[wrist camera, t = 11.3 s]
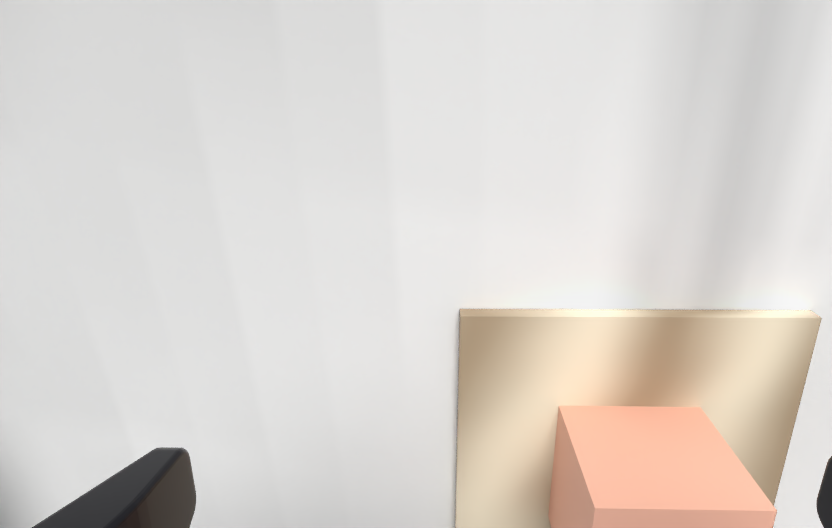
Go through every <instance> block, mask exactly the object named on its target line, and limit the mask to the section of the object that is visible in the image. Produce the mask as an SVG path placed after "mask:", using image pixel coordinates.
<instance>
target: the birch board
mask: <svg viewBox="0 0 832 528" xmlns="http://www.w3.org/2000/svg"><path fill="white" fill-rule="evenodd" d="M821 319H822V318H821V317H820V316H818V315H817V314H815V313H814V312H812V311H811V310H593V309H460V323H459V370H458V416H457V462H456V509H455V528H551V525H550V521H549V517H548V513H549V503H550V492H551V482H552V471H553V461H554V450H555V440H556V429H557V419H558V408H559V406H648V407H701V409H702V410H703V411H704V413H705V414H706V415H707V417H708V418H709V419H710V421H711V422H712V423H713V425H714V426H715V428H716V429H717V430H718V432H719V433H720V434H721V436H722V437H723V438H724V440H725V441H726V442H727V444H728V445H729V446H730V448H731V449H732V451H733V452H734V453H735V455H736V456H737V457H738V459H739V460H740V461H741V463H742V464H743V465H744V467H745V468H746V470H747V471H748V472H749V474H750V475H751V476H752V478H753V479H754V480H755V482H756V483H757V484H758V486H759V487H760V488H761V490H762V491H763V493H764V494H765V495H766V497H767V498H768V499H769V501H770V502H771V503H772V505H773V506H774V502H775V498H776V494H777V491H778V487H779V483H780V479H781V475H782V471H783V467H784V463H785V459H786V455H787V451H788V448H789V444H790V440H791V436H792V432H793V428H794V424H795V420H796V416H797V412H798V408H799V405H800V401H801V397H802V393H803V389H804V385H805V381H806V377H807V373H808V369H809V365H810V362H811V358H812V354H813V350H814V346H815V342H816V338H817V334H818V330H819V326H820V322H821Z"/></svg>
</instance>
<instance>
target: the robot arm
mask: <svg viewBox="0 0 832 528" xmlns="http://www.w3.org/2000/svg"><path fill="white" fill-rule="evenodd" d="M195 506H196V491H195V485H194V479H193V473H192V467H191V462H190V457H189V454H188V452H187V450H185V449H184V448H156V449H154V450H152V451H151V452H149V453H148V454H146V455H144V456H143V457H141V458H140V459H138V460H137V461H135V462H134V463H132V464H130V465H129V466H127V467H126V468H124V469H123V470H121V471H119V472H118V473H116V474H115V475H113V476H112V477H110V478H109V479H107V480H105V481H104V482H102V483H101V484H99V485H98V486H96V487H95V488H93V489H91V490H90V491H88V492H87V493H85V494H84V495H82V496H80V497H79V498H77V499H76V500H74V501H73V502H71V503H70V504H68V505H66V506H65V507H63V508H62V509H60V510H59V511H57V512H56V513H54V514H52V515H51V516H49V517H48V518H46V519H45V520H43V521H41V522H40V523H38V524H37V525H35V526H34V527H32V528H189V527H190V524H191V521H192V518H193V514H194V511H195ZM817 512H818V515H819V518H820V521H821V523H822V525H823V527H824V528H832V456H831V458H830V459H829V460H828V463H827V466H826V469H825V473H824V476H823V480H822V483H821V487H820V490H819V494H818V497H817Z"/></svg>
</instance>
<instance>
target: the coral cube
mask: <svg viewBox="0 0 832 528" xmlns="http://www.w3.org/2000/svg"><path fill="white" fill-rule="evenodd" d="M776 513H777V510H776V509H775V507H774V506H773V505H772V503H771V502H770V501H769V499H768V498H767V497H766V495H765V494H764V493H763V491H762V490H761V488H760V487H759V486H758V484H757V483H756V482H755V480H754V479H753V478H752V476H751V475H750V474H749V472H748V471H747V470H746V468H745V467H744V465H743V464H742V463H741V461H740V460H739V459H738V457H737V456H736V455H735V453H734V452H733V451H732V449H731V448H730V446H729V445H728V444H727V442H726V441H725V440H724V438H723V437H722V436H721V434H720V433H719V432H718V430H717V429H716V428H715V426H714V425H713V423H712V422H711V421H710V419H709V418H708V417H707V415H706V414H705V413H704V411H703V410H702V409H701V407H648V406H559V408H558V419H557V429H556V440H555V450H554V461H553V471H552V482H551V492H550V503H549V513H548V517H549V521H550V525H551V528H773V525H774V521H775V517H776Z"/></svg>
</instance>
